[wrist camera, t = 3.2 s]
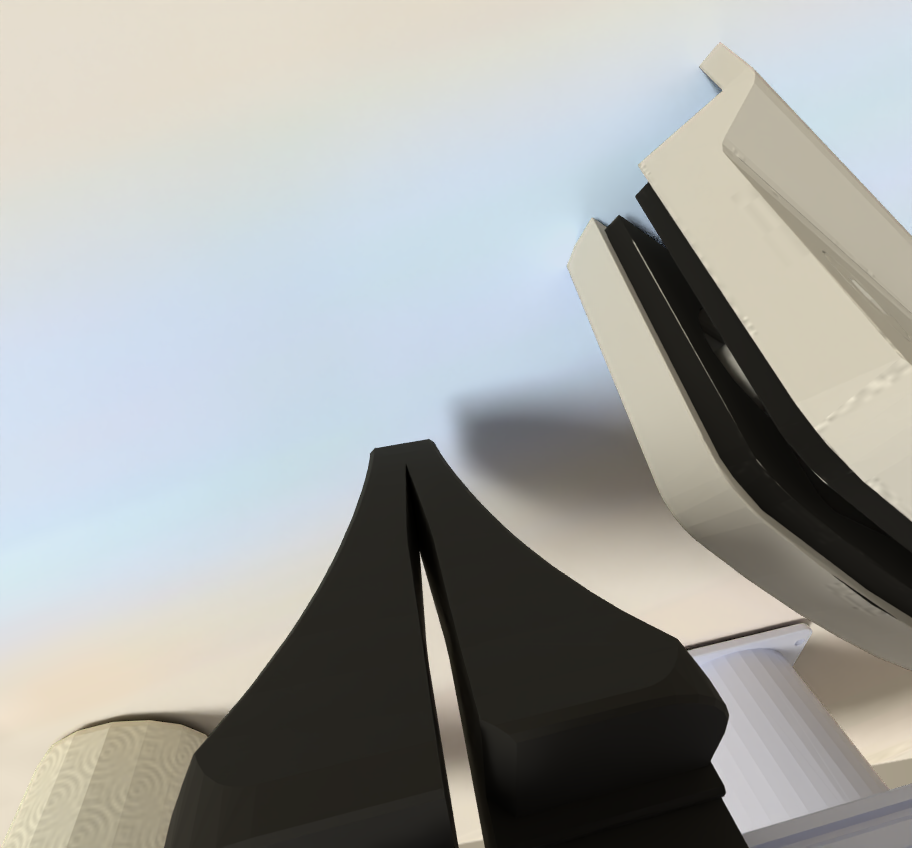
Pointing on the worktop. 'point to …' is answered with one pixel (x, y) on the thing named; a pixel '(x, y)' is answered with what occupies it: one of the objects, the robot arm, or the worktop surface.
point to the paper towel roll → (106, 787)
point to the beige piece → (769, 357)
